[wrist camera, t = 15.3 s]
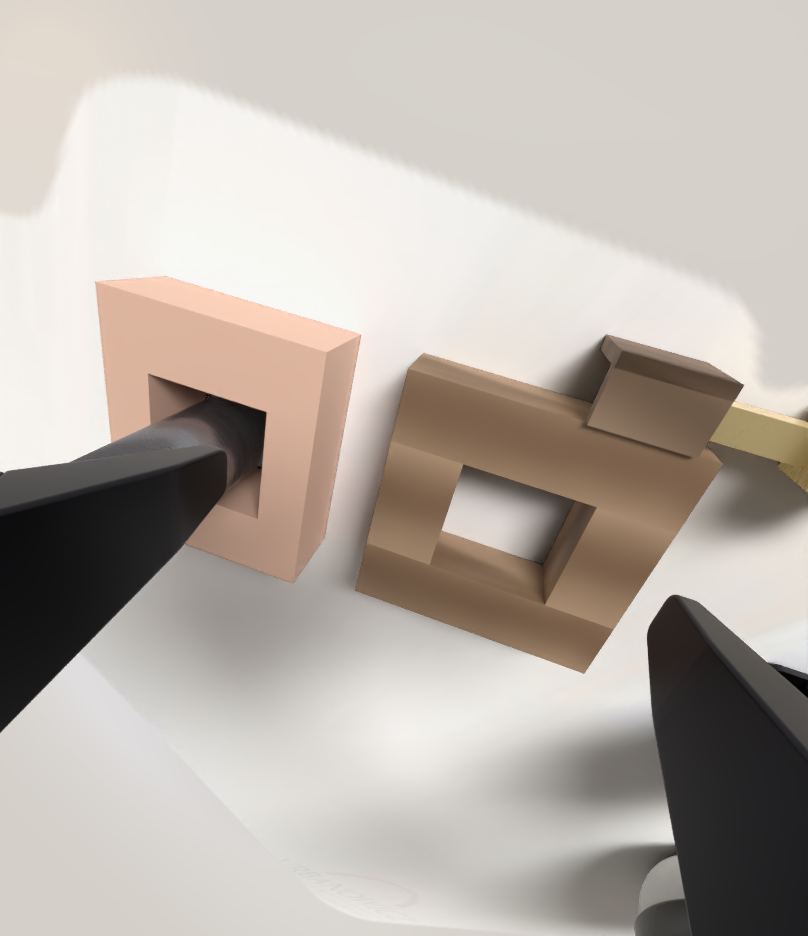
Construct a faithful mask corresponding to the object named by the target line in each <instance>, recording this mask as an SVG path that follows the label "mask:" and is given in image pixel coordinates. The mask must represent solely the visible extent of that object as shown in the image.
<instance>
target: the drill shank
mask: <svg viewBox="0 0 808 936" xmlns="http://www.w3.org/2000/svg"><path fill="white" fill-rule="evenodd" d="M266 416H267V412H265V411H262V410H259V409H256V408H253V407H250V406H247V405H244V404H240V403H237V402H234V401H231V400H228V399H225V398H222V397H219V396H216V395H214V396H212V397H209V398H207V399H205V400H203V401H201V402H199V403H196V404H194V405H192V406H190V407H188V408H186V409H184V410H181V411H179V412H177V413H175V414H173V415H171V416H168V417H166V418H164V419H162V420H160V421H158V422H156V423H153V424H151V425H149V426H147V427H145V428H143V429H140V430H138V431H136V432H134V433H132V434H130V435H128V436H125V437H123V438H121V439H119V440H117V441H115V442H112V443H110V444H108V445H106V446H104V447H102V448H100V449H97V450H95V451H93V452H91V453H89V454H87V455H84V456H82V457H80V458H78V459H76V460H74V461H72V462H78V461H86V460H93V459H101V458H108V457H116V456H123V455H131V454H138V453H146V452H153V451H161V450H169V449H176V448H184V447H191V446H199V445H211V446H214V447H217V448H220V449H223V450H224V451H225V452H226V453H227V457H228V466H227V487H226V490H225V493H226V492H227V491H229V490H230V489H231V488H232V487H234V486H235V485H236V484H237V483H239V482H240V481H241V480H242V479H244V478H245V477H246V476H247V475H248V474H250V473H251V472H252V471H253V470H255V469H256V468H257V467H258V466H260V465H261V464H262V463H263V451H264V440H265V428H266ZM69 463H71V462H69ZM225 493H224V494H225Z"/></svg>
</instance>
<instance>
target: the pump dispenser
mask: <svg viewBox="0 0 808 936" xmlns="http://www.w3.org/2000/svg"><path fill="white" fill-rule="evenodd" d="M634 931H635V936H691V930H690V925H689V919H688V914H687V908H686V903H685V897H684V891H683V886H682V880H681V875H680V869H679V864H678V858H677V855H674V856H671V857H668V858H666V859H664V860H662V861H660V862H659V863H658V864H656V865H655V866H654V867H653V868H652V869H651V870H650V872H649V873H648V874H647V876H646V878H645V880H644V882H643V884H642V888H641V891H640V896H639V904H638V917H637V919H636V921H635V925H634Z"/></svg>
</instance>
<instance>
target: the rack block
mask: <svg viewBox="0 0 808 936" xmlns="http://www.w3.org/2000/svg"><path fill="white" fill-rule="evenodd" d="M95 283H96V293H97V303H98V313H99V323H100V333H101V343H102V353H103V363H104V373H105V382H106V392H107V402H108V412H109V422H110V432H111V442H115V441H117V440H119V439H121V438H123V437H125V436H128V435H130V434H132V433H134V432H136V431H138V430H140V429H143V428H145V427H147V426H149V425H151V424H153V423H156V422H158V421H160V420H162V419H164V418H166V417H168V416H171V415H173V414H175V413H177V412H179V411H181V410H184V409H186V408H188V407H190V406H192V405H194V404H196V403H199V402H201V401H203V400H205V399H206V392H207V393H210V394H213V395H216V396H219V397H222V398H225V399H228V400H231V401H234V402H237V403H240V404H244V405H247V406H250V407H253V408H256V409H259V410H262V411H265V412H267V416H266V428H265V440H264V451H263V463H262V470H261V469H259V468H256V469H255V470H253V471H252V472H251V473H250V474H248V475H247V476H246V477H245V478H244V479H242V480H241V481H240V482H239V483H237V484H236V485H235V486H234V487H232V488H231V489H230V490H229V491H227V492H226V493H225V494H224V495H223V496H222V497H221V499H220V500H219V501H218V502H217V504H216V505H215V506H214V507H213V509H212V510H211V511H210V513H209V514H208V515H207V516H206V518H205V519H204V520H203V521H202V523H201V524H200V525H199V526H198V528H197V529H196V530H195V532H194V533H193V534H192V535H191V537H190V538H189V539H188V540H187V541H186V543H185V544H187V545H189V546H192V547H195V548H198V549H200V550H203V551H206V552H209V553H211V554H214V555H217V556H219V557H222V558H225V559H228V560H230V561H233V562H236V563H238V564H241V565H244V566H247V567H249V568H252V569H255V570H258V571H260V572H263V573H266V574H268V575H271V576H274V577H277V578H279V579H282V580H285V581H288V582H290V583H294V581H295V580H296V579H297V577H298V576H299V574H300V573H301V571H302V570H303V568H304V567H305V566H306V564H307V563H308V561H309V560H310V558H311V557H312V556H313V554H314V553H315V551H316V550H317V548H318V547H319V546H320V544H321V543H322V541H323V540H324V537H325V532H326V526H327V521H328V515H329V510H330V504H331V498H332V493H333V487H334V482H335V476H336V471H337V465H338V460H339V454H340V448H341V443H342V437H343V432H344V426H345V421H346V415H347V410H348V404H349V398H350V393H351V387H352V382H353V376H354V371H355V365H356V360H357V354H358V349H359V343H360V337H361V334H358V333H354V332H351V331H348V330H344V329H341V328H337V327H334V326H331V325H327V324H324V323H321V322H317V321H314V320H311V319H307V318H304V317H300V316H297V315H294V314H290V313H287V312H284V311H280V310H277V309H274V308H270V307H267V306H263V305H260V304H257V303H253V302H250V301H247V300H243V299H240V298H237V297H233V296H230V295H226V294H223V293H220V292H216V291H213V290H210V289H206V288H203V287H200V286H196V285H193V284H189V283H186V282H183V281H179V280H176V279H173V278H169V277H166V276H165V277H152V278H138V279H124V280H111V281H97V282H95Z"/></svg>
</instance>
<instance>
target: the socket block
mask: <svg viewBox="0 0 808 936" xmlns="http://www.w3.org/2000/svg"><path fill="white" fill-rule="evenodd" d="M600 350H601V351H602V352H603V354H604V355H605V356H606V358H607V359H608V360H609V362H610V363H611V365H610V368H609V370H608V372H607V374H606V376H605V378H604V380H603V383H602V385H601V387H600V389H599V391H598V393H597V396H596V398H595V400H594V402H593V403H590V402H586V401H583V400H580V399H576V398H573V397H570V396H566V395H563V394H560V393H556V392H553V391H549V390H546V389H543V388H539V387H536V386H533V385H529V384H526V383H523V382H519V381H516V380H512V379H509V378H506V377H502V376H499V375H496V374H492V373H489V372H486V371H482V370H479V369H475V368H472V367H469V366H465V365H462V364H459V363H455V362H452V361H449V360H445V359H442V358H438V357H435V356H432V355H428V354H425V353H423V354H422V355H421V356H420V357H419V358H418V359H417V360H416V361H415V362H414V363H413V364H412V365H411V366H410V367H409V368H408V372H407V376H406V380H405V384H404V389H403V393H402V397H401V401H400V405H399V409H398V414H397V418H396V422H395V426H394V430H393V434H392V439H391V443H390V447H389V451H388V455H387V459H386V464H385V468H384V472H383V476H382V480H381V484H380V489H379V493H378V497H377V501H376V505H375V509H374V514H373V518H372V522H371V526H370V530H369V535H368V539H367V543H366V547H365V551H364V555H363V560H362V564H361V568H360V572H359V576H358V580H357V585H356V589H355V591H358V592H361V593H363V594H366V595H369V596H372V597H374V598H377V599H380V600H383V601H385V602H388V603H391V604H394V605H397V606H399V607H402V608H405V609H408V610H410V611H413V612H416V613H419V614H421V615H424V616H427V617H430V618H432V619H435V620H438V621H441V622H443V623H446V624H449V625H452V626H454V627H457V628H460V629H463V630H465V631H468V632H471V633H474V634H476V635H479V636H482V637H485V638H487V639H490V640H493V641H496V642H498V643H501V644H504V645H507V646H509V647H512V648H515V649H518V650H520V651H523V652H526V653H529V654H531V655H534V656H537V657H540V658H542V659H545V660H548V661H551V662H554V663H556V664H559V665H562V666H565V667H567V668H570V669H573V670H576V671H578V672H581V673H585V672H586V670H587V669H588V667H589V666H590V664H591V663H592V661H593V660H594V658H595V657H596V655H597V654H598V652H599V651H600V649H601V648H602V646H603V645H604V643H605V642H606V640H607V639H608V637H609V636H610V634H611V633H612V631H613V630H614V628H615V627H616V625H617V624H618V622H619V621H620V619H621V617H622V616H623V614H624V613H625V611H626V610H627V608H628V607H629V605H630V604H631V602H632V601H633V599H634V598H635V596H636V595H637V593H638V592H639V590H640V589H641V587H642V586H643V584H644V583H645V581H646V580H647V578H648V577H649V575H650V574H651V572H652V571H653V569H654V568H655V566H656V565H657V563H658V562H659V560H660V559H661V557H662V556H663V554H664V553H665V551H666V550H667V548H668V547H669V545H670V544H671V542H672V541H673V539H674V538H675V536H676V535H677V533H678V532H679V530H680V529H681V527H682V526H683V524H684V523H685V521H686V519H687V518H688V516H689V515H690V513H691V512H692V510H693V509H694V507H695V506H696V504H697V503H698V501H699V500H700V498H701V497H702V495H703V494H704V492H705V491H706V489H707V488H708V486H709V485H710V483H711V482H712V480H713V479H714V477H715V476H716V474H717V473H718V471H719V470H720V468H721V467H722V465H723V463H722V462H721V461H720V460H719V459H718V458H717V457H716V455H715V454H714V453H713V452H712V451H711V450H710V449H709V448H708V447H707V446H706V445H707V444H708V442H709V440H710V439H711V437H712V436H713V434H714V432H715V431H716V429H717V428H718V426H719V425H720V423H721V421H722V420H723V418H724V417H725V415H726V413H727V412H728V410H729V409H730V407H731V405H732V404H733V402H734V401H735V399H736V397H737V396H738V394H739V393H740V391H741V389H742V388H743V386H744V385H743V384H741V383H740V382H738V381H737V380H735V379H733V378H732V377H730V376H729V375H727V374H725V373H724V372H722V371H720V370H719V369H717V368H716V367H714V366H712V365H711V364H709V363H707V362H703V361H700V360H696V359H693V358H689V357H685V356H682V355H678V354H675V353H671V352H668V351H664V350H660V349H657V348H653V347H650V346H646V345H642V344H639V343H635V342H632V341H628V340H625V339H621V338H617V337H614V336H610V335H606V337H605V339H604V341H603V344H602V346H601V348H600ZM463 464H464V465H467V466H470V467H473V468H476V469H480V470H483V471H486V472H489V473H492V474H495V475H498V476H501V477H504V478H507V479H511V480H514V481H517V482H520V483H523V484H526V485H529V486H532V487H535V488H539V489H542V490H545V491H548V492H551V493H554V494H557V495H560V496H563V497H566V498H570V499H573V500H575V501H574V503H573V505H572V507H571V509H570V511H569V513H568V515H567V517H566V519H565V521H564V523H563V525H562V527H561V529H560V531H559V533H558V535H557V537H556V539H555V541H554V543H553V545H552V547H551V549H550V551H549V553H548V555H547V557H546V559H545V561H544V563H543V565H541V564H538V563H535V562H532V561H529V560H526V559H523V558H520V557H517V556H514V555H511V554H508V553H505V552H502V551H500V550H497V549H494V548H491V547H488V546H485V545H482V544H479V543H476V542H473V541H470V540H467V539H464V538H461V537H458V536H455V535H453V534H450V533H447V532H444V531H441V529H442V526H443V523H444V520H445V518H446V515H447V512H448V509H449V506H450V503H451V500H452V497H453V494H454V491H455V488H456V485H457V482H458V479H459V476H460V473H461V470H462V467H463Z"/></svg>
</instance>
